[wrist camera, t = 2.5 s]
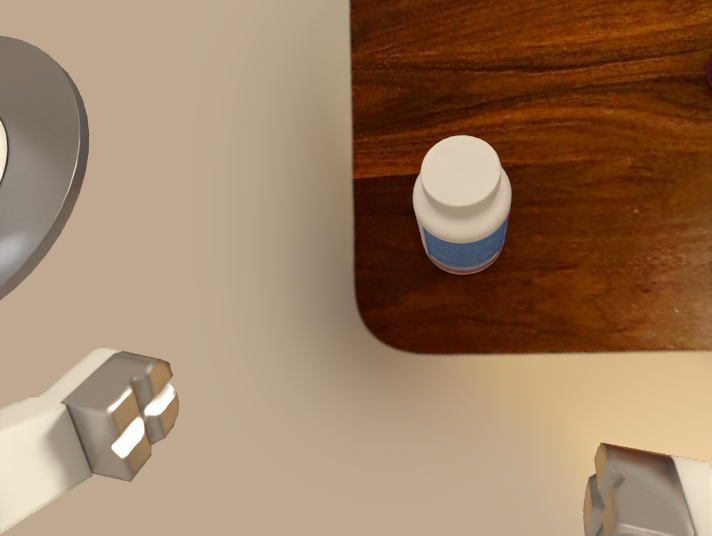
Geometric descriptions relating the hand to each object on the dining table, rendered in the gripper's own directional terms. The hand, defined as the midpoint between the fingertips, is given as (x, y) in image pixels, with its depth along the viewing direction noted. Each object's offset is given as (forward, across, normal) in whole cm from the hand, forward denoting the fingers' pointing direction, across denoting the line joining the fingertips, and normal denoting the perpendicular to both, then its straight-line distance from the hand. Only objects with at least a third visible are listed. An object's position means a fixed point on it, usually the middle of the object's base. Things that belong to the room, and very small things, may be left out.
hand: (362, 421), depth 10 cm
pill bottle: (+26, 0, +8) cm, 27 cm away
